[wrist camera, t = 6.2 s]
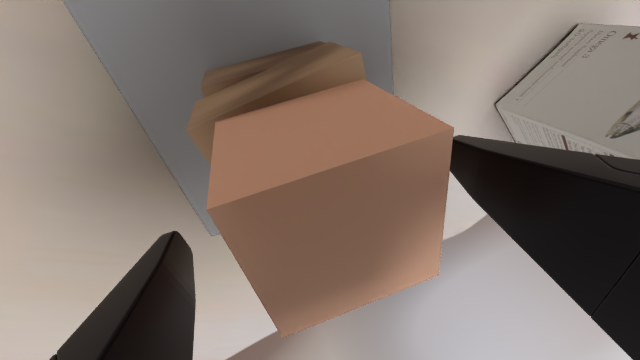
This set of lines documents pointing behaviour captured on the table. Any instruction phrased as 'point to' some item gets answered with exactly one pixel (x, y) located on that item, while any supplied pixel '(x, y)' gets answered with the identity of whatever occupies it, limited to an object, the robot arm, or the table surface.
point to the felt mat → (214, 58)
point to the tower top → (275, 88)
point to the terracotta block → (331, 200)
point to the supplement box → (582, 95)
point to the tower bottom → (248, 68)
